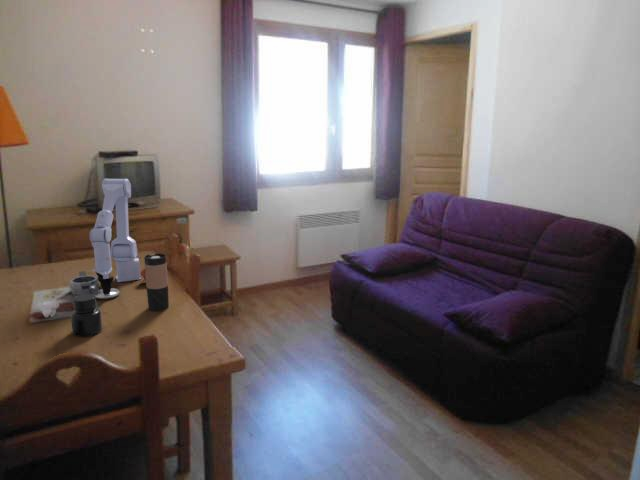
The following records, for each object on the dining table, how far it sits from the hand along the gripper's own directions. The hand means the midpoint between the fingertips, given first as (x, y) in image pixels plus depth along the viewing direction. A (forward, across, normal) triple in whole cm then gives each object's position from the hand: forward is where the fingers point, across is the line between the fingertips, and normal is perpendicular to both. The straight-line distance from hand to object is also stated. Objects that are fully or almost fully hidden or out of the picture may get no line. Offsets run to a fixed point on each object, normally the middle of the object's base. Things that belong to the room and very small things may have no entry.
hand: (106, 291), depth 197 cm
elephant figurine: (+2, +12, -20) cm, 23 cm away
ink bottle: (+2, +32, -9) cm, 33 cm away
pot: (+2, -12, -7) cm, 14 cm away
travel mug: (+2, +21, +16) cm, 27 cm away
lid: (+2, 0, 0) cm, 2 cm away
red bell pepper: (+2, -9, +18) cm, 20 cm away
